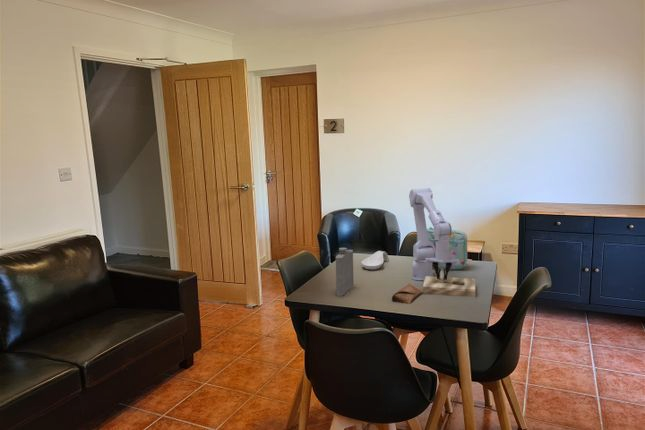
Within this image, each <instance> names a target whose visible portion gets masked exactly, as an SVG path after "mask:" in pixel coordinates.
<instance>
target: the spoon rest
mask: <svg viewBox="0 0 645 430" xmlns="http://www.w3.org/2000/svg"><path fill="white" fill-rule="evenodd" d="M389 258H390V257H389V255H388V253H387V252H386V251H382V250H377V251H375V252H374V253H372V254H371V255H370V256H367V257H366V258H364V259H363V260H362V261H361V265H362V267H363V268H365V269H367V270H369V271H370V270H371V271H375V270H379V269H380V268H381V267H382V266H383V264H384V261H385V262H389V260H390V259H389Z"/></svg>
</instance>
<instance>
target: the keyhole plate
mask: <svg viewBox="0 0 645 430" xmlns="http://www.w3.org/2000/svg"><path fill="white" fill-rule="evenodd" d="M422 285H423V286H422V291H423V294H425V295H438V296H439V295H442V296H456V297H457V296H459V297H474V298H475V297H476V280H475V278H469V277H467V278H465V277H448V276H447V280H444V281H443V283H441V281H440V280H439V279H437V276H433V277H430V276H426V277H425V280H423V283H422ZM423 294H422V295H423Z"/></svg>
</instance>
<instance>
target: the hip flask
mask: <svg viewBox="0 0 645 430" xmlns="http://www.w3.org/2000/svg"><path fill="white" fill-rule="evenodd" d="M338 252H339V253H338V254H337V255H336V256H335V281H336V282H335V285H336V288H335V289H336V297H344V296H345V294H346V293H347V292H349V290H351V289H354V286H355V285H354V282H355V281H354V250H353V249H348V248H347V247H339V248H338ZM343 295H344V296H343Z"/></svg>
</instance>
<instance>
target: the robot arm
mask: <svg viewBox="0 0 645 430" xmlns="http://www.w3.org/2000/svg"><path fill="white" fill-rule="evenodd" d="M408 194H409V195H408V198H409V199H408V200H409V204H410V208H413V209H412V210H413V216H414V222H415V230H416V239H417V238H418V242H417V241H416V242H415V243H414V244H413V246H412V247H413V248H412V249H413V250H412V252H413V253H412V255H413V258H414V260H412V272H411V275H412V279H411V280H414V281H424V280H425V277H426V276H430V277H434V275H433V269H432V263H433V268H434V272H435V277H437V279H439V269H438V264H439V263H446V269H445V280H447V277H448V275H449V272H450V271H451V270H450V268H451V266H452V264H459V259H452V258H449V235H450V234H451V232H452V230H453V229H452V224H451V223H450V222H449V221H447V220H446V219H445V218H444V216H443V214H442V212H441V211H440V210H439V209H437V208H436V205H435V204H434V201H433V191H432V189H431V188H429V187H427V188H416V189H415V188H411V190H410V191H409V193H408ZM425 209H426V210H427V212H428V213H429V214H428V219H429V221H430V223H431V224H432V228H433V232H434V238H435V239H436V250H435V248H434V244H433V243H432V242H430V241H429V240H428V234H427V229H428V228H427V222H426V215H425ZM419 247H424V248H419ZM435 257H436V258H435Z"/></svg>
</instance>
